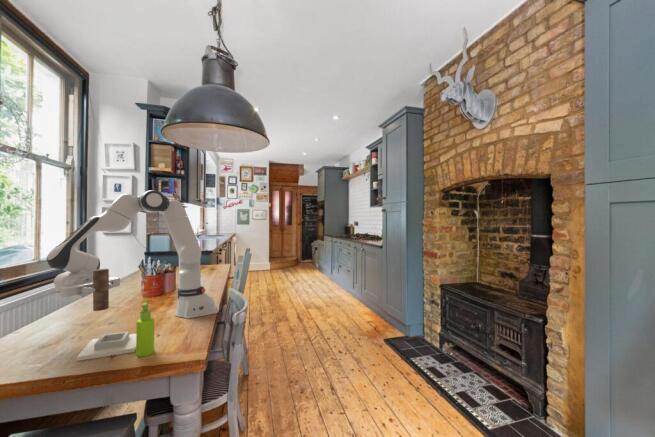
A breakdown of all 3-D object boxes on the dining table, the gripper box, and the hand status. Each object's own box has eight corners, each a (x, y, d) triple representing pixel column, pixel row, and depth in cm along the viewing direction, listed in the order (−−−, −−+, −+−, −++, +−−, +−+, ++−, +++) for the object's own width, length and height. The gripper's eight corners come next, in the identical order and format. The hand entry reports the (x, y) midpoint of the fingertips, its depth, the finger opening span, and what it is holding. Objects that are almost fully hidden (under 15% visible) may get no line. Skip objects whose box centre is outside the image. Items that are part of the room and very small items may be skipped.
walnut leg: (108, 306, 120) (108, 268, 120) (109, 309, 116) (109, 270, 116) (92, 308, 116) (92, 269, 116) (93, 311, 113) (93, 271, 112)
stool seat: (142, 335, 126) (142, 327, 126) (134, 351, 112) (134, 341, 112) (92, 342, 119) (92, 333, 119) (76, 360, 104) (76, 350, 104)
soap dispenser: (134, 359, 106) (135, 306, 106) (137, 351, 112) (137, 301, 112) (153, 355, 109) (153, 304, 109) (154, 348, 115) (154, 299, 115)
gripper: (51, 282, 112) (71, 286, 106) (109, 273, 130) (128, 276, 125) (51, 298, 112) (71, 303, 106) (109, 286, 130) (128, 290, 125)
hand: (102, 288), depth 116 cm, fingers closed on walnut leg, 5 cm apart
